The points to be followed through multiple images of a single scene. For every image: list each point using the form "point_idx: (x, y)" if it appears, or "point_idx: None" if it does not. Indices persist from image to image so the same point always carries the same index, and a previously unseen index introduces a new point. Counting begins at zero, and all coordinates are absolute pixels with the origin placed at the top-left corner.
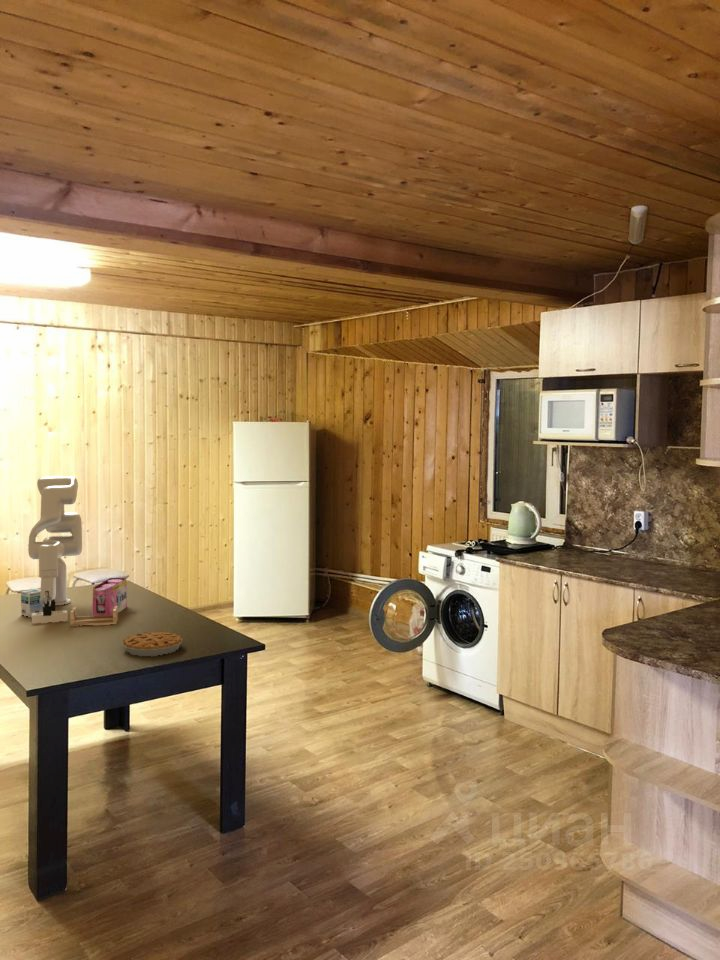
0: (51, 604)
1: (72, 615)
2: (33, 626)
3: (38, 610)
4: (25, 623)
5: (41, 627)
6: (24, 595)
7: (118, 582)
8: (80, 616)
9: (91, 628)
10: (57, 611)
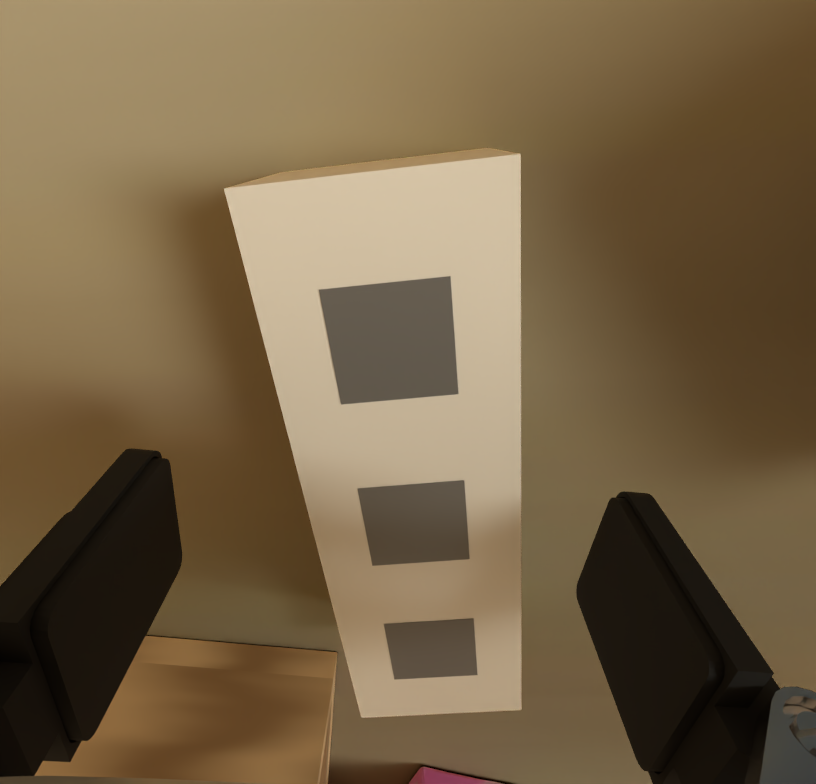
0: (641, 667)
1: None
2: (113, 210)
3: None
4: (379, 16)
5: (48, 343)
6: None
7: None
8: (324, 753)
9: None
10: (488, 621)
